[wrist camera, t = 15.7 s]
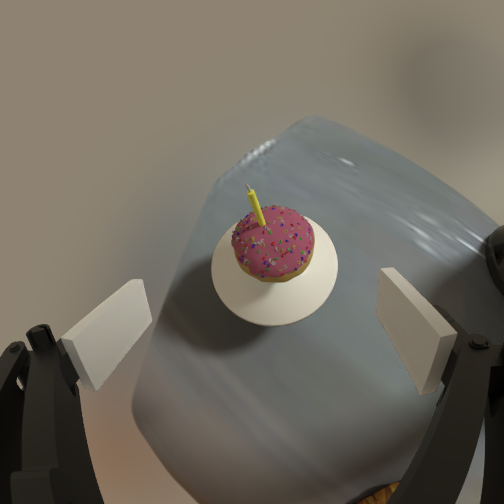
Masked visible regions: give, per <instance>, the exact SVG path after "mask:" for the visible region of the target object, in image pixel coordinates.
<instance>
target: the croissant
mask: <svg viewBox="0 0 504 504" xmlns="http://www.w3.org/2000/svg"><path fill="white" fill-rule="evenodd" d="M399 483H400V482H397V483H393V484H390V485H389V486H387V487H385V488H383V489H381V490H380V491H378V492H376V493H375V494H373V495H372V496H369V497H365V498H364V499H362V500H360V501H359V502H357V503H355V504H386V503H387V501H388V500H389V498H390V497H391V495H392V494H393V492H394V491H395V489H396V488H397V486H398V484H399Z"/></svg>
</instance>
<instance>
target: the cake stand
mask: <svg viewBox="0 0 504 504" xmlns="http://www.w3.org/2000/svg"><path fill="white" fill-rule="evenodd" d="M301 216H302V215H301ZM304 217H305V216H304ZM305 219H307V220H308V222H309V223H310V224H311V226H312V228H313V231H314V235H315V244H314V251H313V256H312V259H311V261H310V264H309V266H308V267H307V268H306V270H305V271H304V272H303V273H302V274H300V275H299V276H297V277H295V278H293V279H291V280H289V281H287V282H284V283H268V282H261V281H259V280H258V279H256V278H254V277H252V276H250V275H248V274H247V273H245V272H244V271H243V270H242V269H241V268H240V266H239V264H238V262H237V260H236V257H235V254H234V248H233V246H232V245H231V240H232V235H233V234H232V231H234V230H235V227H236V225H237V224H238V222H237V223H236V224H234V225H233V226H232V227H231V228H230V229H229V230H228V231H227V232H226V233H225V234H224V235H223V236H222V238H221V239H220V241H219V243H218V245H217V247H216V249H215V251H214V254H213V259H212V266H211V272H212V280H213V284H214V287H215V289H216V292H217V293H218V295H219V297H220V299H221V300H222V301H223V303H224V304H225V305H226V306H227V308H228V309H230V310H231V311H232V312H233V313H234V314H235V315H237V316H238V317H240V318H242V319H244V320H245V321H247V322H250V323H253V324H256V325H261V326H269V327H277V326H286V325H291V324H294V323H297V322H299V321H301V320H303V319H305V318H307V317H309V316H310V315H312V314H313V313H315V312H316V311H317V310H318V309H319V308H320V307H321V306H322V305H323V304H324V302H325V301H326V300H327V298H328V297H329V295H330V293H331V291H332V289H333V286H334V284H335V280H336V277H337V269H338V263H337V255H336V251H335V248H334V245H333V243H332V241H331V239H330V238H329V237H328V235H327V234H326V232H325V231H324V230H323V229H322V228H321V227H320V226H319V225H317V224H316V223H315V222H313V221H312V220H310V219H309V218H307V217H305ZM242 220H243V219H242Z"/></svg>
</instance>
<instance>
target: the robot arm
mask: <svg viewBox="0 0 504 504" xmlns="http://www.w3.org/2000/svg"><path fill="white" fill-rule="evenodd" d="M486 259H487V264H488V268H489V271H490V273H491V276H492V278H493V280H494V282H495V284H496V286H497V287H498V289H499V290H500V291H501V292H502V294H503V295H504V225H503V226H500V227H499V228H497V229H496V230H495V231H494V232H493V233H492V234H491V235H490V237H489V238H488V241H487V245H486ZM376 316H377V317H378V319H379V321H380V322H381V324H382V326H383V328H384V329H385V331H386V333H387V334H388V336H389V338H390V340H391V342H392V343H393V345H394V347H395V349H396V350H397V352H398V354H399V356H400V358H401V360H402V361H403V363H404V365H405V367H406V369H407V371H408V373H409V375H410V377H411V378H412V380H413V382H414V384H415V386H416V388H417V390H418V392H419V394H420V396H421V395H425V394H429V393H432V392H436V391H437V388H438V386H439V384H440V381H441V380H442V382H443V384H444V385H445V388H444V390H443V392H442V394H441V396H440V399H439V401H438V403H437V405H436V406H437V408H436V411H435V413H434V416H433V418H432V420H431V423H430V425H429V427H428V430H427V432H426V434H425V436H424V438H423V441H422V443H421V445H420V447H419V449H418V451H417V453H416V455H415V456H414V458H413V460H412V462H411V464H410V466H409V467H408V469H407V471H406V473H405V474H404V476H403V478H402V479H401V481H400V483H399V484H398V486H397V488H396V489H395V491H394V492H393V494H392V495H391V497H390V498H389V500H388V501H387V503H386V504H455V503H456V500H457V498H458V496H459V494H460V491H461V489H462V486H463V484H464V481H465V479H466V476H467V473H468V471H469V468H470V465H471V462H472V459H473V456H474V452H475V449H476V445H477V442H478V438H479V434H480V430H481V426H482V421H483V416H484V419H485V463H484V477H483V486H482V494H481V501H480V504H504V343H503V345H491V343H490V341H489V340H488V339H486V338H485V337H483V336H480V335H476V334H471V335H469V334H468V333H467V332H466V331H465V330H464V329H463V328H462V327H461V326H460V325H459V324H458V323H457V322H456V321H455V320H454V319H453V318H452V317H450V315H449V314H448V313H447V312H446V311H445V310H444V309H442V308H441V307H439V306H437V305H433V306H432V305H431V304H430V303H429V302H428V301H427V300H426V299H425V298H424V297H423V296H422V295H421V294H420V293H419V292H418V291H417V290H416V289H415V288H414V287H413V286H412V285H411V284H410V283H409V282H408V281H407V280H406V279H405V278H404V277H403V276H401V275H400V274H399V273H398V272H397V271H396V270H395V269H394V268H393V267H392V268H380V278H379V289H378V299H377V308H376ZM151 322H152V317H151V313H150V310H149V305H148V301H147V297H146V293H145V289H144V284H143V281H142V279H132V280H130V281H129V282H128V283H126V284H125V285H124V286H123V287H121V288H120V289H119V290H117V291H116V292H115V293H114V294H113V295H111V296H110V297H109V298H108V299H106V300H105V301H104V302H103V303H101V304H100V305H99V306H98V307H96V308H95V309H94V310H93V311H92V312H90V313H89V314H88V315H87V316H86V317H84V318H83V319H82V320H81V321H80V322H78V323H77V324H76V325H75V326H74V327H73V328H71V329H70V330H69V331H68V332H67V333H66V334H64V335H63V336H62V337H61V338H60V339H59V340H58V341H57V342H56V341H55V339H54V336H53V334H52V331H51V329H50V326H49V325H47V324H41V325H37V326H35V327H33V328H31V329H30V330H29V331H28V332H27V333H26V336H27V338H28V340H29V343H30V345H31V347H32V349H33V351H28V350H27V348H26V346H25V343H24V342H22V341H18V342H13V343H11V344H10V345H9V346H8V347H7V348H6V349H5V351H4V352H3V354H2V356H1V357H0V504H104V501H103V498H102V496H101V493H100V490H99V486H98V483H97V480H96V477H95V473H94V470H93V465H92V462H91V458H90V453H89V449H88V445H87V440H86V435H85V429H84V424H83V417H82V411H81V403H80V396H79V389H78V386H77V384H76V382H77V380H78V379H79V378H80V380H81V382H82V384H83V386H84V388H86V389H89V390H93V391H96V392H97V391H98V390H99V388H100V387H101V386H102V384H103V383H104V382H105V380H106V379H107V378H108V377H109V375H110V374H111V373H112V371H113V370H114V369H115V367H116V366H117V365H118V364H119V362H120V361H121V360H122V359H123V357H124V356H125V355H126V353H127V352H128V351H129V350H130V348H131V347H132V346H133V345H134V343H135V342H136V341H137V340H138V338H139V337H140V336H141V335H142V333H143V332H144V331H145V329H146V328H147V327H148V326H149V325H150V324H151ZM17 377H18V379H19V381H20V382H21V384H22V386H23V388H22V390H21V389H20V388H19V386H18V385H17V382H16V380H17Z"/></svg>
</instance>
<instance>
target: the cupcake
mask: <svg viewBox="0 0 504 504" xmlns="http://www.w3.org/2000/svg"><path fill="white" fill-rule="evenodd" d="M246 187H247V189H248V191H247V195H248V198H249V200H250V203H251V205H252V208H253V210H254V212H252V213H251V212H250V213H248V215H247V216H246V217H245V218H244V217H243V218H244V219H243V218H242V219H243V220H242V219H241V220H240V221H239V222H238V224H237V225H236V227H235V230H234V231H232V234H233V235H232V240H231V245H232V246H233V248H234V254H235V257H236V260H237V262H238V264H239V266H240V268H241V269H242V270H243V271H244V272H245V273H247V274H248V275H250V276H252V277H254V278H256V279H258V280H259V281H261V282H268V283H284V282H287V281H289V280H291V279H293V278H295V277H297V276H299V275H300V274H302V273H303V272H304V271H305V270H306V268H307V267H308V266H309V264H310V261H311V259H312V256H313V251H314V244H315V235H314V231H313V228H312V226H311V224H310V223H309V222H308V220H307V219H305V217H304V216H301V215H300V214H299V213H297V212H295V209H293V210H294V211H293V210H291V209H288V208H286V207H284V206H282V207H281V206H275V205H273V206H271V207H264V208H260V206H259V203H258V200H257V197H256V195H255V192H254V190H250V188H249V186H248V184H246Z"/></svg>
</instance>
